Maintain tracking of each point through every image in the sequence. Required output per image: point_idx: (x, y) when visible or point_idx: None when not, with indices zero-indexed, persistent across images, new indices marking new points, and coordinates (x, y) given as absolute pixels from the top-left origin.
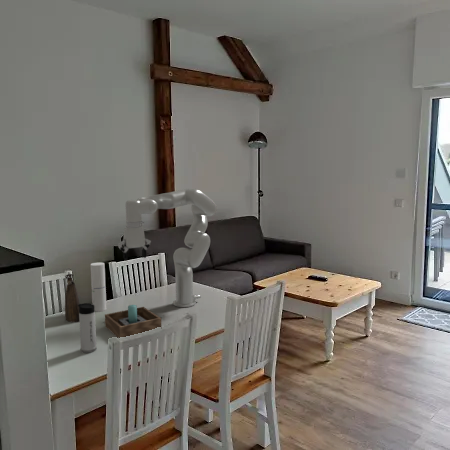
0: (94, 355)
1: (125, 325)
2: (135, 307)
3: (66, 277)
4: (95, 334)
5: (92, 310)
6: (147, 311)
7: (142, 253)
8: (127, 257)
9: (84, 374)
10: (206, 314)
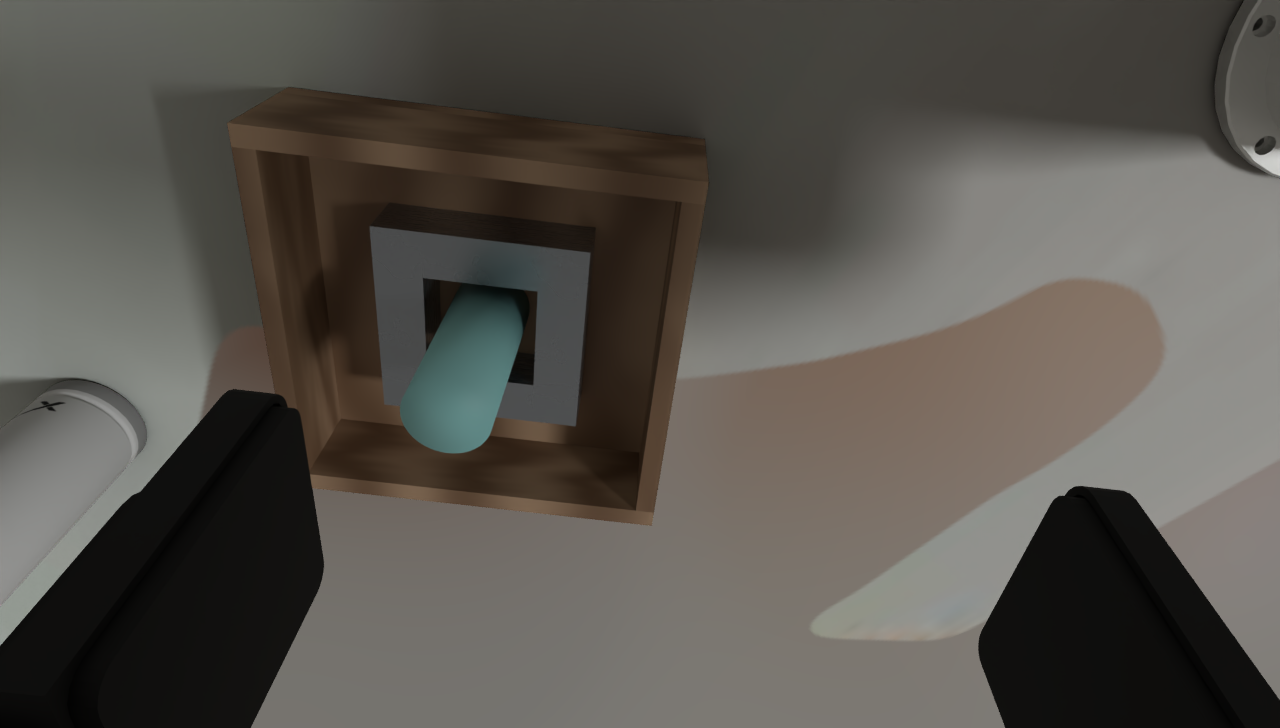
0: (128, 496)
1: (340, 480)
2: (465, 449)
3: None
4: (75, 522)
5: None
6: (664, 318)
7: (1115, 650)
8: (273, 658)
9: None
10: (1157, 426)
